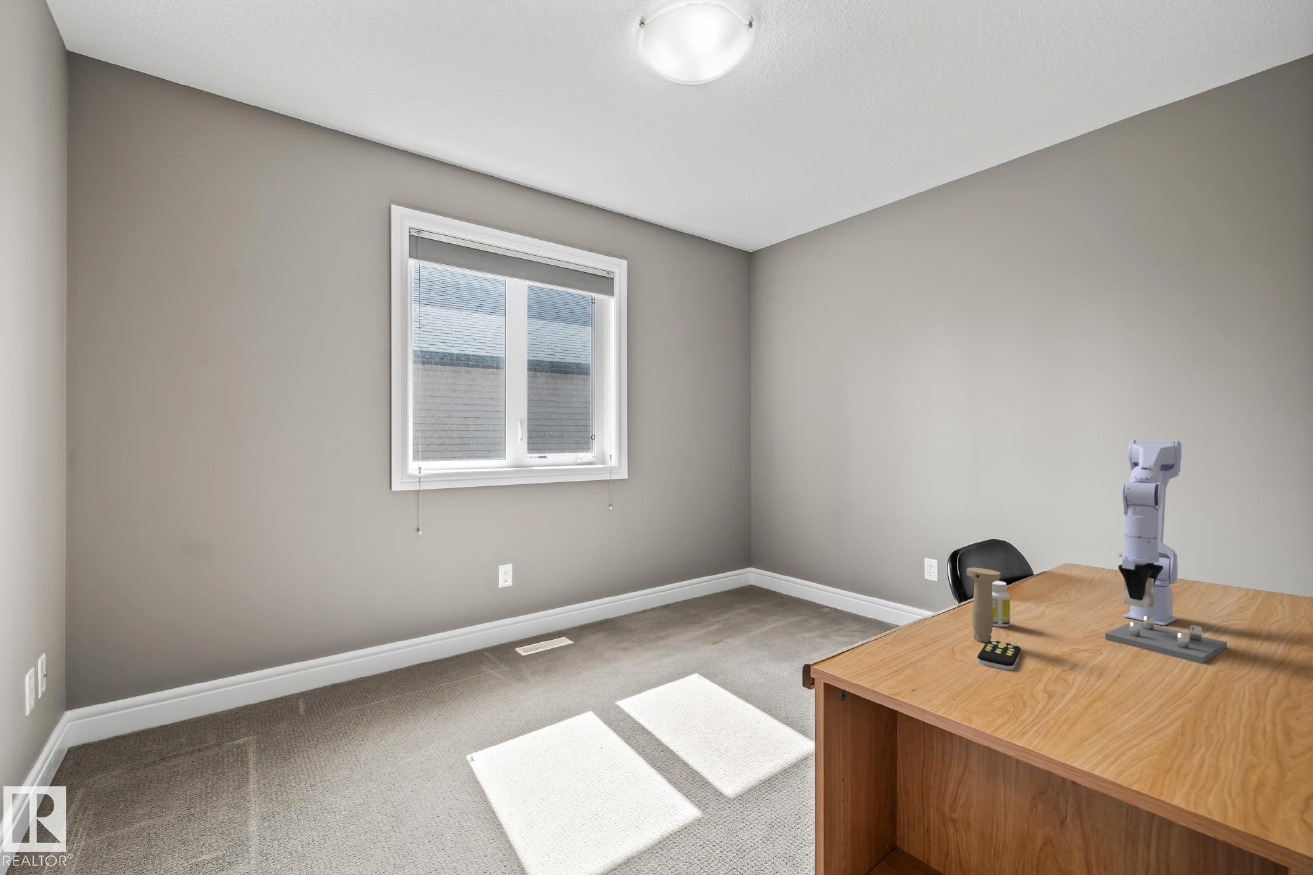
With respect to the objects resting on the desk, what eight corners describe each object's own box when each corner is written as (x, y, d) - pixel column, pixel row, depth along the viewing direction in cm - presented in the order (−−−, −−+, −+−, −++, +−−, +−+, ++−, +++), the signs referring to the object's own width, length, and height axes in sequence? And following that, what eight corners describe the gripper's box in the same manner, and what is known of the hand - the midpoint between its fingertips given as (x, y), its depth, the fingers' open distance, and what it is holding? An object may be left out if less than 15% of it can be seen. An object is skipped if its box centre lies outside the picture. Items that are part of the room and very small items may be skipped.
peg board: (1133, 626, 136) (1133, 609, 136) (1226, 647, 123) (1227, 628, 123) (1105, 638, 128) (1105, 620, 128) (1202, 663, 114) (1202, 643, 114)
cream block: (1131, 601, 132) (1131, 575, 132) (1153, 605, 129) (1153, 578, 129) (1123, 604, 130) (1124, 577, 130) (1146, 608, 127) (1146, 581, 127)
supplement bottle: (1006, 621, 139) (1007, 580, 139) (1012, 628, 134) (1013, 586, 134) (981, 619, 141) (981, 578, 140) (985, 626, 135) (986, 584, 135)
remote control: (975, 665, 113) (975, 655, 113) (987, 646, 123) (987, 637, 123) (1012, 673, 109) (1012, 663, 109) (1021, 654, 119) (1022, 644, 119)
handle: (973, 633, 130) (973, 566, 130) (1003, 642, 125) (1004, 572, 125) (961, 637, 127) (962, 569, 127) (992, 646, 122) (993, 575, 122)
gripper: (1132, 531, 136) (1131, 589, 137) (1105, 536, 129) (1104, 597, 129) (1170, 535, 130) (1169, 596, 131) (1145, 541, 123) (1144, 606, 123)
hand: (1140, 597), depth 129 cm, fingers closed on cream block, 4 cm apart
